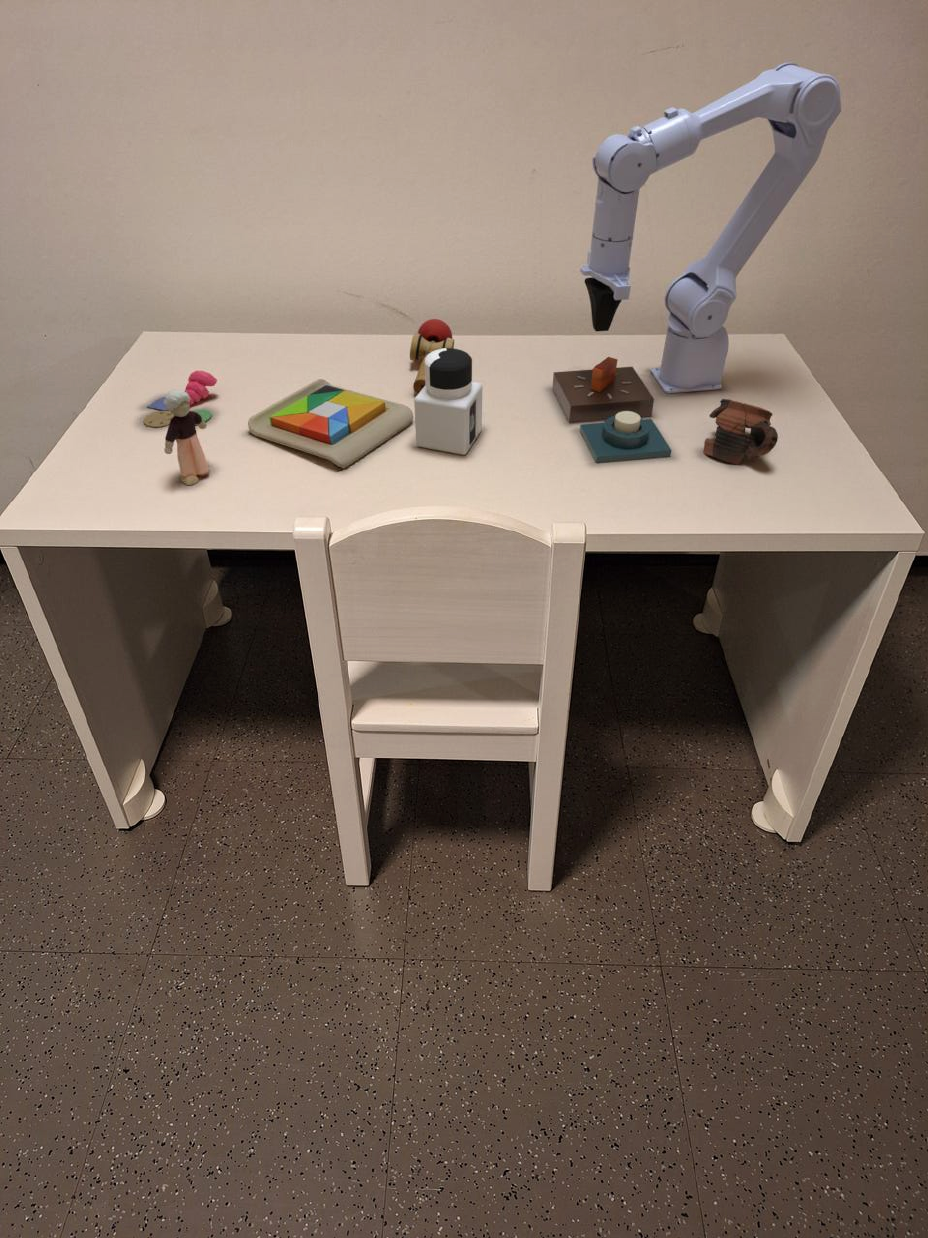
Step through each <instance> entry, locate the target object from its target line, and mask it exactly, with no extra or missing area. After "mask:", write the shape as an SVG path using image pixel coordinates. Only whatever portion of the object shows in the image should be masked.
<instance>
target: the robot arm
mask: <svg viewBox="0 0 928 1238" xmlns="http://www.w3.org/2000/svg"><path fill="white" fill-rule="evenodd" d="M841 112H842V101H841V89H840V84H839V82H838V81H837V79H836V78H835V77H834V76H833V75H830V74H828V73H827V74H825V73H819V72H817V71H813V70H810V69H808V68H804V67H802V66H800V65H798V64H797V63H795V62H784V63H780V64H779V65H777V66H776V67H774V68H770V69H766V70H764V71H762V72H761V73H760V74H759V75H758V76H757V77H756V78H754V79H753V80H750V82H747V83H745V84H744V85H742V86H740V87H738V88H736V89H735V90H732V91H731V92H729V93H727V94H726V95H723V96H722V97H720V98H719V99H716V100H715V101H713V102H710V103H709V104H707V105H706V106H704V107H702V108H700V109H698V110H696V111H695V112H693V113H692V112H691V111H689V110H687V109H685V108H678V109H677V108H675V107H673V106H671V107H669V108H667V109H666V110H664V111H663V116H662V117H660V118H657V119H656V120H654V121H651V122H649V123H647V124H645V125H643V126H641V127H640V126H638V125H635V126H633V127H631V128H630V130H629V131H630V132H628V135H625V134H620V133H615V134H612V135H610V136H608V137H607V138H605V139H604V140H603V141H602V144H600V145H599V147H598V148H597V151H596V154H595V156H593V157H592V161H591V162H592V169H593V171H594V173H595V175H596V177H597V188H596V195H595V196H596V197H595V203H594V212H593V213H594V214H593V222H592V232H591V240H590V249H588V250H587V258H586V265H581V266H580V269H579V272H580V273H581V275H582V276H584V277H585V276H586V278H585V279H584V284H585V287H586V290H587V293H588V297H589V298H588V299H589V303H590V311H591V312H590V313H591V322H592V327H593V330H594V332H596V333H597V332H608V331H610V328H611V325H612V322H613V320H614V317H615V315H616V313H617V310H618V309H619V307H620V304H621V302H622V301H625V300H629V299H630V294H631V284H630V273H631V272H630V271H631V268H630V262H631V261H630V260H631V253H632V247H633V240H634V232H635V225H636V217H637V211H638V204H639V198H640V197H639V196H640V190H641V188H642V187H643V186H644V185H645V184H646V183H647V181H648V179H649V178H650V176H651V175H652V174H655V173H657V172H660V171H661V170H663V169H665V168H668V167H669V166H671V165H674V164H676V163H678V162H680V161H682V160H684V159H686V158H688V157H691V156H692V155H694V154H695V153H696V152H697V150H698V147H699V145H700V143H701V141H702V140H705V139H707V138H709V137H712V136H714V135H717V134H720V133H722V132H724V131H727V130H729V129H732V128H734V127H736V126H739V125H741V124H744V123H746V122H749V121H751V120H753V119H756V118H761V119H766V120H767V123H768V125H769V128H770V130H771V131H772V137H773V144H774V153H773V155H772V157H771V158H770V160H769V161H768V163H767V164H766V166H765V167H764V169H763V170H762V172H761V173H760V175H759V176H758V177H757V179H756V181H755V182H754V184H753V185H752V187H751V188H750V190H749V191H748V193H747V194H746V195H745V197H744V199H743V200H742V201H741V203H740V205H739V206H738V208H737V209H736V211H735V212H734V214H733V215H732V216H731V218H730V219H729V221H728V222H727V224H726V226H725V227H724V229H723V230H722V232H721V233H720V235H719V236H718V238H716V240H715V242H714V243H713V245H712V247H711V248H710V249H709V251H708V253H707V254H706V255H705V256H704V257H703V258H701V259H698V260H696V261H693V262H692V263H689V265H688V266H687V268H686V269H685V271H683V273H682V274H681V275H680V276H678V277H677V278H675V279H673V281H671V283H670V285H668V287H667V289H666V291H665V295H664V305H665V309H666V310H667V311H668V312H669V315H668V323H667V329H666V335H665V340H664V346H663V351H662V358H661V363H660V367H654V368H650V373H651V374H652V376H653V378H654V379H655V380H656V382H657V383H658V384H659V386H660V387H661V389H662V390H663V392H664V393H666V394H675V393H676V394H677V393H688V392H703V391H715V390H716V391H717V390H721V389H722V388H723V385H722V384H721V383H722V377H723V374H724V371H725V366H726V362H727V358H728V357H727V356H728V352H729V344H730V343H729V334H728V331H727V328H726V327H724V324H725V323H726V321H727V318H728V315H729V311H730V308H731V307H732V304H733V303H734V301H736V299H737V283H736V281H737V280H736V279H737V277H738V275H739V274H740V272H741V271H742V270H743V268H744V267H745V265H746V264H747V262H748V261H749V259H751V256H752V255H753V253H754V252H755V251H756V249H757V248H758V246H759V245H760V244H761V242H762V241H763V239H764V238H765V236H766V235H767V233H768V232H769V231H770V229H771V228H772V227H773V225H774V224H775V222H776V221H777V219H778V217H780V215H781V214H782V212H783V211H784V209H785V208H786V206H787V205H788V204H789V202H790V201H791V199H792V198H793V197H794V195H795V193H796V192H797V191H798V189H799V188H800V186H801V185H802V183H804V181H805V179H806V177H807V176H808V175H809V173H810V172H811V171H812V169H813V167H814V166H815V165H816V163H817V161H818V160H819V158H820V155H821V153H822V149H823V146H824V144H825V140H826V138H827V135H828V132H829V130H830V129H831V127H832V125H833V124H834V123H835V121H836V119H838V117H839V115H840V114H841ZM588 276H589V277H588Z"/></svg>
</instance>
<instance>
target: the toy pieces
mask: <svg viewBox="0 0 928 1238" xmlns="http://www.w3.org/2000/svg"><path fill="white" fill-rule="evenodd" d="M187 381H188V382H187V384H186V386H185V388H184V390H183V391H184V392H186V393H187V394H188V395H189V396H190V401H189V405H190V406H191V405H194V404H195V403H199V402H201V400H202V399H207V398H208V396H209V394H210V392H209V390H208V387H215V385H216V384H217V382H218V379H217V378H216V377H214V375H212V374H211V373H210V372H208V371H204V370H195V371H193V372H191V373H190V375H189V377H188V379H187ZM164 399H165V396H163V397H159V398H156V399H155V400H154V401H153V402H152V403H150V404H148V405H146V407H147V408H150V409H154V410H155V409H156V410H158V411H153V412H150V413H149V414H147V415H146V416H145V417H144V418H143V419H142V420H143V421H142V422H143V424H144V425H145V426H147V427H151V428H161V427H166V426H169V424H170V421H171V419H172V418H173V417H174V416H175V415H173V414H172V413H171V411H170V410H168V409H167V408H166V405H165V404H164ZM193 411H194V412H196V413H198V414H199V415H201V417H202V419H203V421H204V422H205V423H206V422H208V421H209V420H210V419H211V418H212V416H213V413H212V412H211V410H209V409H206V408H203V409H196V410H193ZM195 426H198V425H197V424H196V425H195Z"/></svg>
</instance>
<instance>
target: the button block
mask: <svg viewBox="0 0 928 1238" xmlns="http://www.w3.org/2000/svg"><path fill="white" fill-rule="evenodd" d="M615 416H616V415H615ZM615 416H612V417H610V418H608V419H606V420H604V422H595V423H582V424H580V425H579V433H580V435H581V437H582V439H583V440H584V442H585V444H586V446H587V449H588V451H589V453H590V455H591V456H592V458H593V461H594V463H595V464H602V463H603V464H604V463H614V462H627V461H637V460H638V461H639V460H650V459H659V458H660V459H663V458H670V457H671V455H672V449H671V447H670V445H669V443H668V442H667V441H666V439H665V438H664V436H663V435H662V433H661V431H660V430H659V428H658V426H657V425H656V424H655V422H654V420H653V419H652V418H644V419H643V418H641V420H640V426H639V430H638V432H636V433H630V434H626V433H621V432H618V431H616V430H615V429H614V422H615Z"/></svg>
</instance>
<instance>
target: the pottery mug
mask: <svg viewBox="0 0 928 1238" xmlns="http://www.w3.org/2000/svg"><path fill="white" fill-rule="evenodd" d="M772 416H773V413H772V412H771V411H770V410H768V409H765V408H762V407H759V406H758V405H757V406H756V405H754V404H753V405H752V404H749V403H746V402H744V403H743V402H742V401H737V400H732V399H728V398H722V399H721V400H720V405H719V406H718V407H716V408H714V409H713V410H712V412H711V413H710V414H709V418H712V419H715V424H716V426H717V427H716V430H715V437H714V438H709V437H706V438H705V440H704V443H703V452H702V453H703V454H705V455H707V456H708V457H709V456H710V457H713V458H714V459H715V458H716V459H718V460H719V461H722V462H726V463H729V464H732V465H736V466H739V465H740V464H741V461H742V459H743V458H744V456H745V454H746V457H747V458H748V459H749V460H750V461H753V460H755V459H757V458H758V457H764V456H765V455H767V454H768V453H770V452H771V451H772V450H773V449H774V448H775V446H776V445H777V443H778V439H779V435H778V432H777V429H776V428H775V427H773V426H772V423H771V418H772ZM746 429H750V433H747V434H746Z"/></svg>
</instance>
